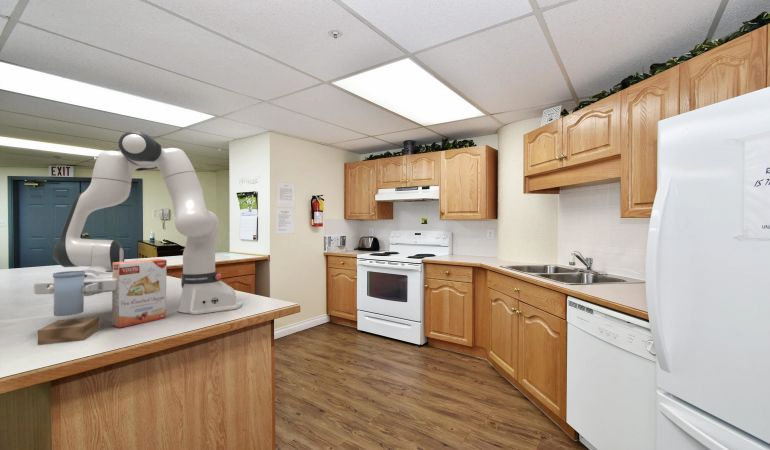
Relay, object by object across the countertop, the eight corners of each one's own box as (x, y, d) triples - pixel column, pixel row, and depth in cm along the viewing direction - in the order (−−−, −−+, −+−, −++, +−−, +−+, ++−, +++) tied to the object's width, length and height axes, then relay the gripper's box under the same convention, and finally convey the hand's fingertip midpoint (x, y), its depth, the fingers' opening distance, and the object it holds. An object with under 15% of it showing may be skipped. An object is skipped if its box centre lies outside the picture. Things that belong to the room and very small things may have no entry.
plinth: (99, 329, 103) (99, 316, 103) (83, 340, 94) (83, 326, 94) (58, 333, 100) (57, 320, 100) (37, 344, 90) (37, 330, 90)
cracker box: (119, 328, 104) (118, 263, 104) (111, 325, 107) (111, 262, 107) (167, 318, 116) (167, 259, 116) (159, 315, 119) (158, 258, 119)
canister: (88, 309, 101) (89, 270, 101) (77, 315, 95) (78, 273, 95) (60, 311, 99) (60, 271, 98) (47, 317, 92) (47, 275, 92)
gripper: (49, 273, 105) (20, 281, 92) (126, 271, 112) (110, 277, 99) (48, 293, 105) (20, 303, 92) (126, 289, 112) (109, 298, 100)
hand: (67, 290), depth 96 cm, fingers closed on canister, 6 cm apart
